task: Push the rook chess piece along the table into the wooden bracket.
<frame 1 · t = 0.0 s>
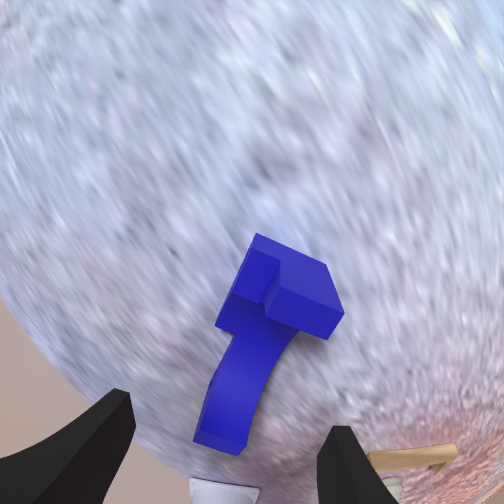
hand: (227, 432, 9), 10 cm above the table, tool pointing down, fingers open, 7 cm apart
wooden bracket: (406, 458, 24), on the table
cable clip: (250, 325, 20), on the table
rook chess piece: (384, 482, 26), on the table
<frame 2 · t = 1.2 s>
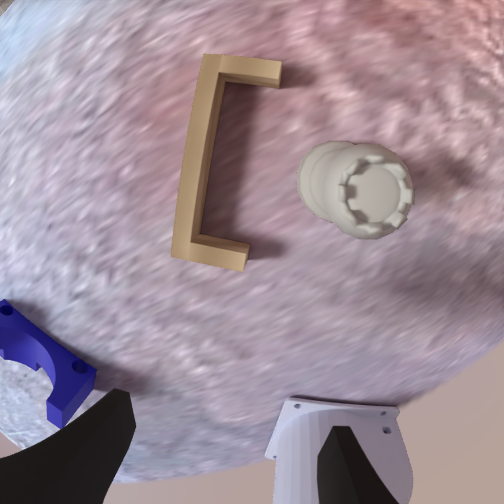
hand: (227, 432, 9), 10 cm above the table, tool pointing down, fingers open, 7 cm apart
wooden bracket: (229, 159, 16), on the table
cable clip: (46, 347, 23), on the table
rook chess piece: (335, 180, 16), on the table
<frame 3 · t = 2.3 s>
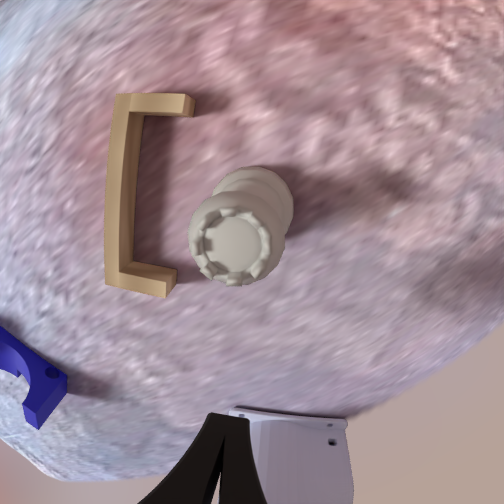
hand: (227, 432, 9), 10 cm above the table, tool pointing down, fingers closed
wooden bracket: (151, 191, 17), on the table
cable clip: (24, 355, 24), on the table
rook chess piece: (253, 205, 17), on the table
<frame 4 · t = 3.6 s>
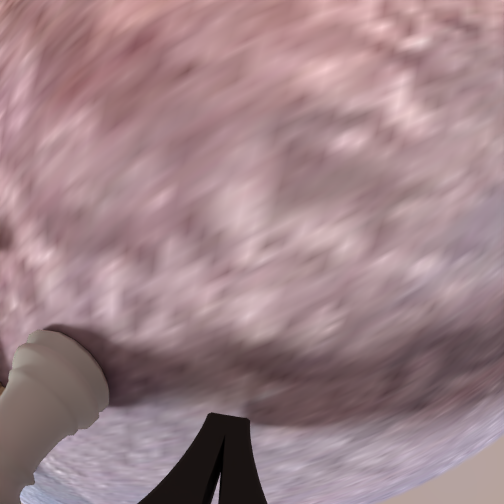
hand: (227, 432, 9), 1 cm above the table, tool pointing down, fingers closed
rook chess piece: (72, 365, 11), on the table
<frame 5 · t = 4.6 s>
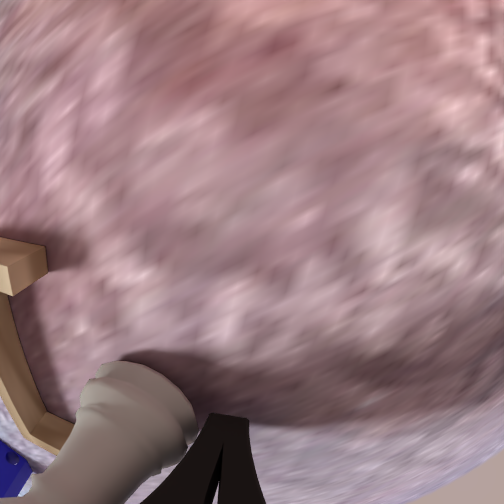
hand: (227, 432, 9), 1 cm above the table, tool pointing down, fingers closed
wooden bracket: (36, 355, 11), on the table
rook chess piece: (151, 398, 10), on the table, touching gripper
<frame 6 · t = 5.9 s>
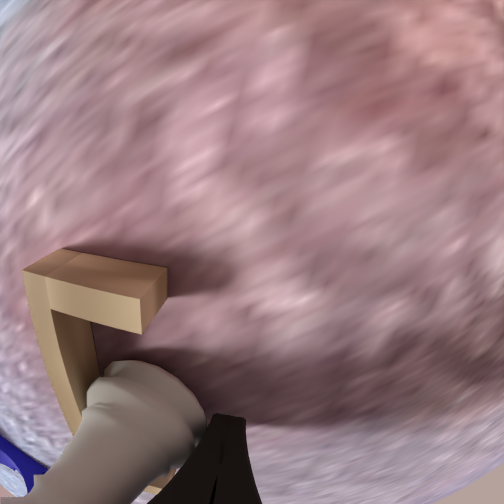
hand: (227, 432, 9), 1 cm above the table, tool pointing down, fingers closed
wooden bracket: (123, 387, 10), on the table
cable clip: (17, 451, 17), on the table
rook chess piece: (160, 398, 10), on the table, touching gripper
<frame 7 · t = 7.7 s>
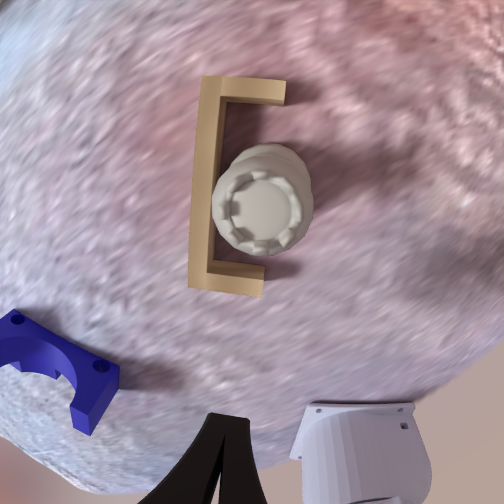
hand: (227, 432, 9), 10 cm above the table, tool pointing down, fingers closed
wooden bracket: (237, 184, 16), on the table
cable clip: (63, 352, 23), on the table
rook chess piece: (268, 183, 16), on the table
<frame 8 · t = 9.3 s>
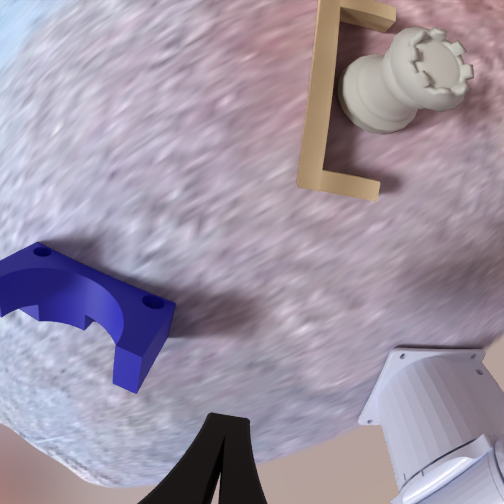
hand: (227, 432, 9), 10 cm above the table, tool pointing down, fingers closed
wooden bracket: (345, 92, 14), on the table
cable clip: (97, 295, 20), on the table
rook chess piece: (373, 96, 14), on the table
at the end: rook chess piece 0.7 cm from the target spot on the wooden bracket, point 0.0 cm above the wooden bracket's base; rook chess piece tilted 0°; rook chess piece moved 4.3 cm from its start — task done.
